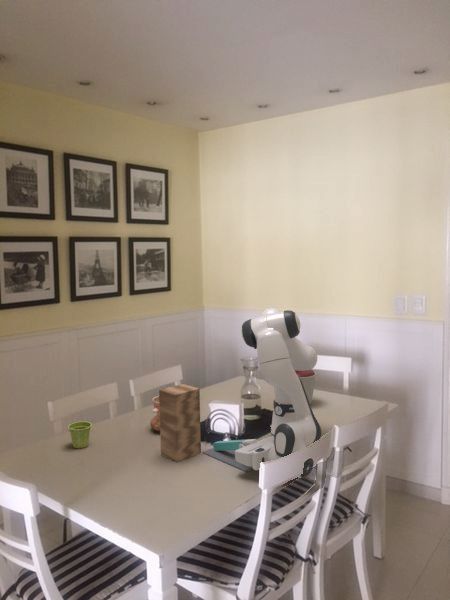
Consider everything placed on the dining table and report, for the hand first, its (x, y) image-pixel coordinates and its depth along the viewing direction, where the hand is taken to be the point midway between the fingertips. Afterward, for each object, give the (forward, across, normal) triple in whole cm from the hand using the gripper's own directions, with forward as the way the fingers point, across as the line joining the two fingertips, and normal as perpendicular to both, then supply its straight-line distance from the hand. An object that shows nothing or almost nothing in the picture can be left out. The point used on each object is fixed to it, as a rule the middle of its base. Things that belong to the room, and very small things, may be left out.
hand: (244, 443), depth 187 cm
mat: (+6, 0, +7) cm, 9 cm away
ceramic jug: (+49, -1, +8) cm, 50 cm away
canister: (+29, -69, +7) cm, 75 cm away
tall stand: (+23, +12, +7) cm, 27 cm away
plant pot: (+59, +36, +8) cm, 70 cm away
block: (+4, 0, +3) cm, 6 cm away
